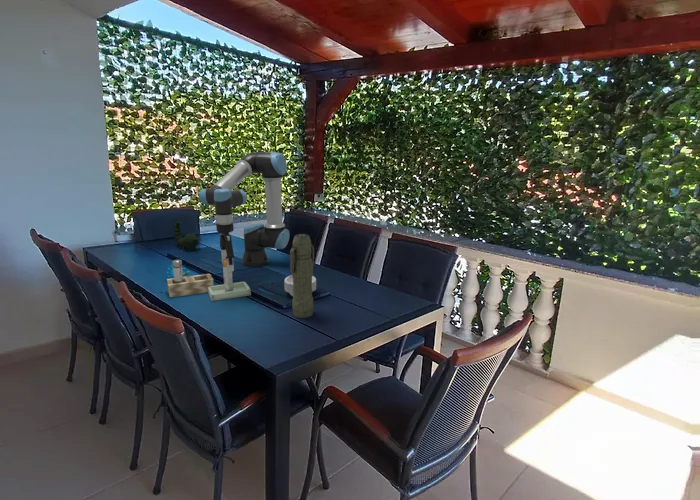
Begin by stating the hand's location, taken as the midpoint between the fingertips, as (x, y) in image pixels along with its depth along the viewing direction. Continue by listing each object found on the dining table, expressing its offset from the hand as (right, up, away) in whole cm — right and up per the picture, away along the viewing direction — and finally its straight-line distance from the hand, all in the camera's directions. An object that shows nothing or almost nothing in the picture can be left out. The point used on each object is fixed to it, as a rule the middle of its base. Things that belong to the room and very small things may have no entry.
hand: (227, 266), depth 199 cm
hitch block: (-20, -12, +6) cm, 24 cm away
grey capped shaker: (-24, -13, +4) cm, 28 cm away
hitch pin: (0, -12, +3) cm, 13 cm away
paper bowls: (+34, -14, +5) cm, 37 cm away
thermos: (+38, -20, -17) cm, 46 cm away
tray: (0, -13, +3) cm, 14 cm away
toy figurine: (-49, +8, +78) cm, 93 cm away
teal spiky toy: (-32, -8, +22) cm, 40 cm away
